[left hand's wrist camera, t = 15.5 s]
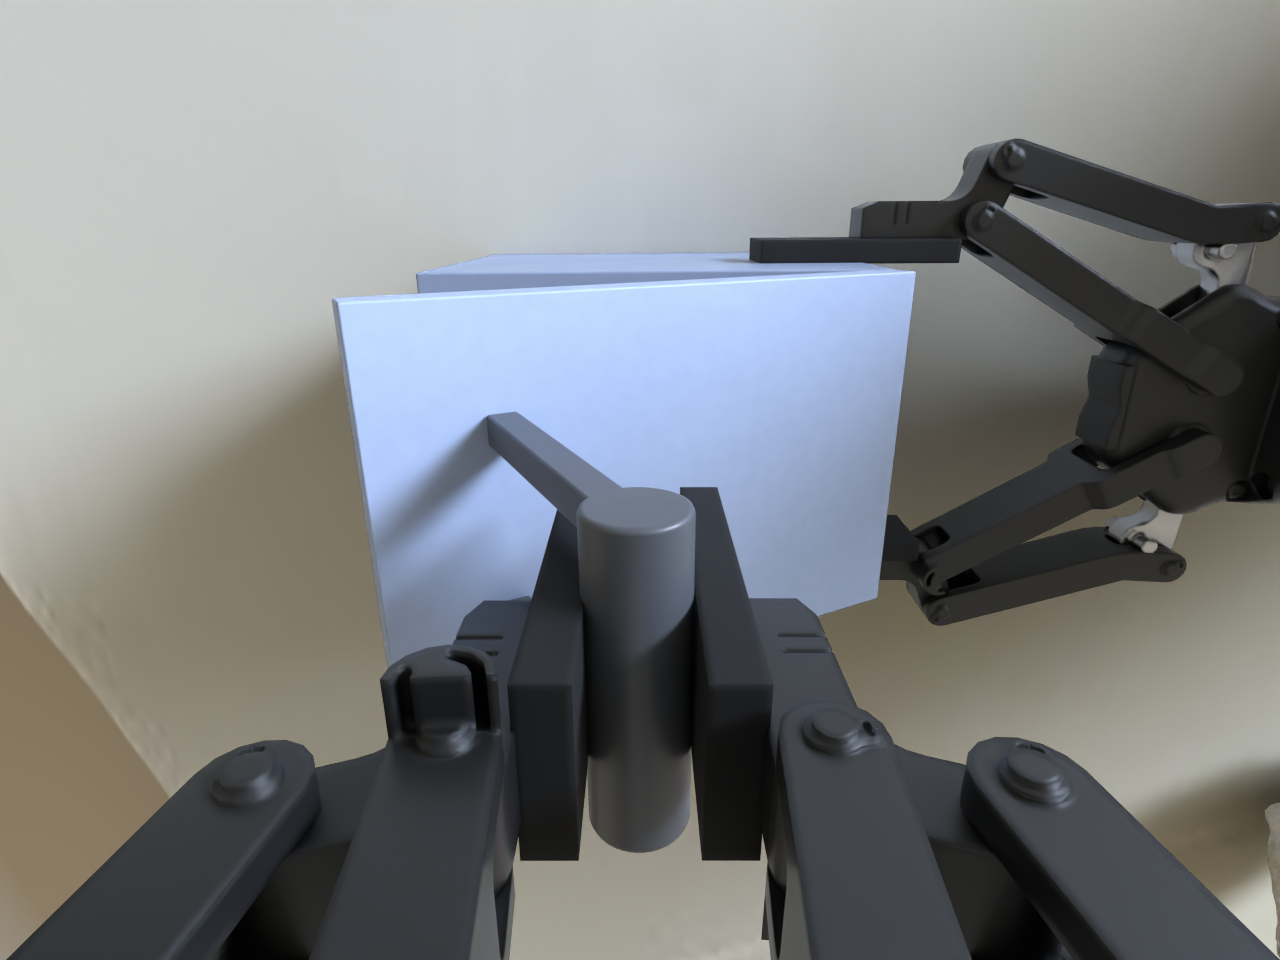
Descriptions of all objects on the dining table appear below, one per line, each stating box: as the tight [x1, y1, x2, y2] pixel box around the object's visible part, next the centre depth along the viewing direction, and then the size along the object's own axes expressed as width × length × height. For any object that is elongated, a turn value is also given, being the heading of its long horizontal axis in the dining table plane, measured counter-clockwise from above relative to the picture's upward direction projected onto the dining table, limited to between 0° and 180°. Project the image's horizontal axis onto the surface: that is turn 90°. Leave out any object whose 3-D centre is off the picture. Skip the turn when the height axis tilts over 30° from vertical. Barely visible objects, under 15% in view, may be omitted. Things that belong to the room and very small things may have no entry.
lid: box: [332, 269, 916, 853], centre depth 16 cm, size 15×10×8 cm
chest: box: [416, 252, 895, 294], centre depth 28 cm, size 14×10×11 cm
